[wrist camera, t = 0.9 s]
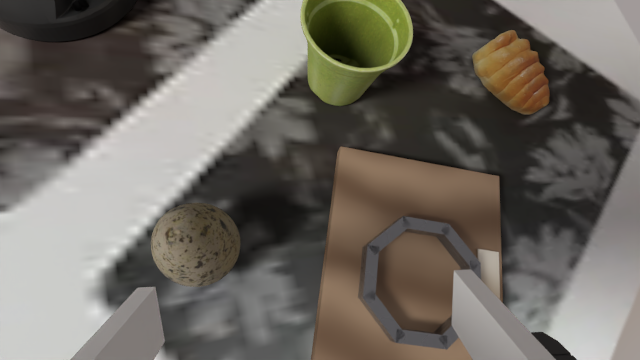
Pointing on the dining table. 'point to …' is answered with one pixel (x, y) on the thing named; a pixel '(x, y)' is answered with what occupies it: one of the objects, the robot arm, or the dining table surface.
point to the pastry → (512, 73)
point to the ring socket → (368, 279)
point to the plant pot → (352, 44)
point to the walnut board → (401, 252)
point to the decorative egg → (195, 244)
